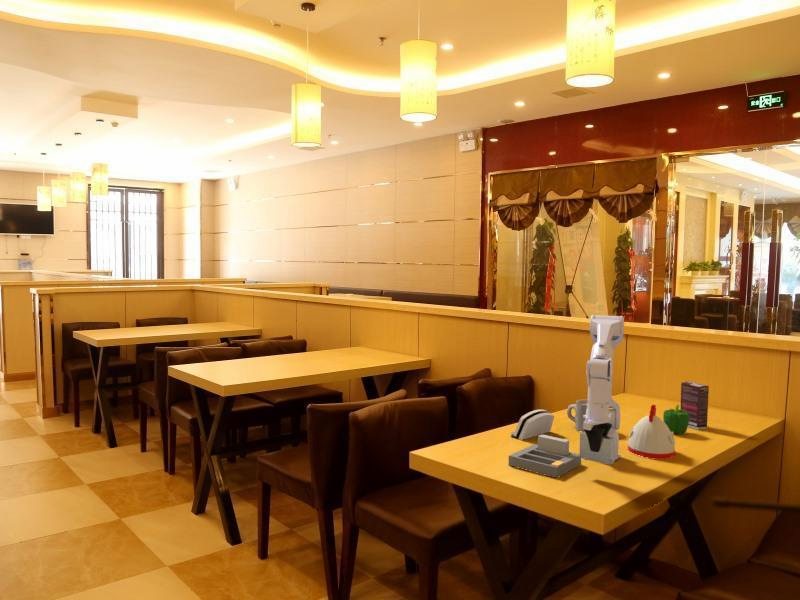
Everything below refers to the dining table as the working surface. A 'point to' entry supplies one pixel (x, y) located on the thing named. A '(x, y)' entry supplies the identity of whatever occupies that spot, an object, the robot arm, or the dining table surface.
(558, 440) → the rack
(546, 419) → the white arched block
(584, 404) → the coffee mug
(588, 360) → the robot arm
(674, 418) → the bell pepper
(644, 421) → the chicken hat
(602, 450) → the panel
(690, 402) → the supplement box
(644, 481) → the dining table surface
